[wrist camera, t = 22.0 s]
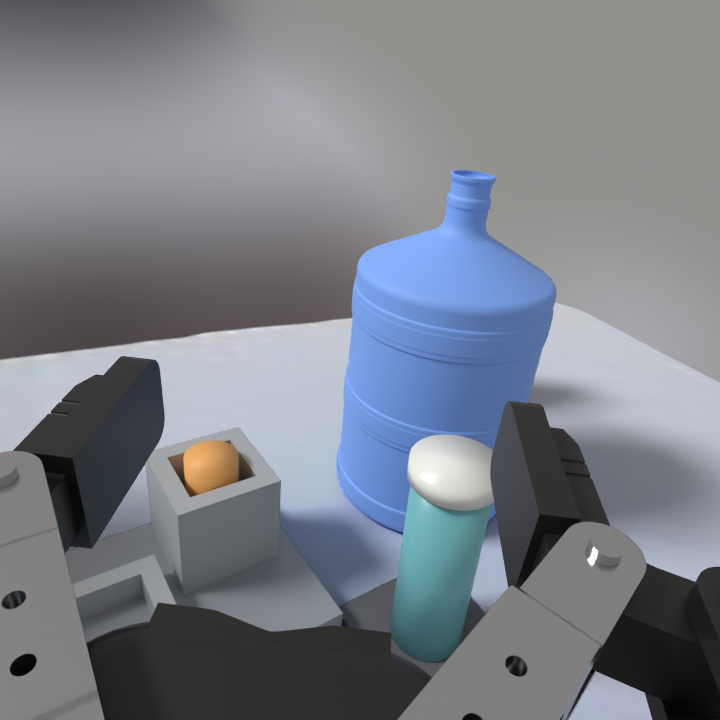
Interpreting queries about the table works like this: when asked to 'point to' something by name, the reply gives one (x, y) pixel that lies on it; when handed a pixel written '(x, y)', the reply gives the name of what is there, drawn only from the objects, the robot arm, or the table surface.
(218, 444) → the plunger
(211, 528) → the housing
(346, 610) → the mat
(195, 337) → the table surface
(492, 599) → the table surface
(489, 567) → the table surface
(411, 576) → the cylinder
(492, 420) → the water jug
